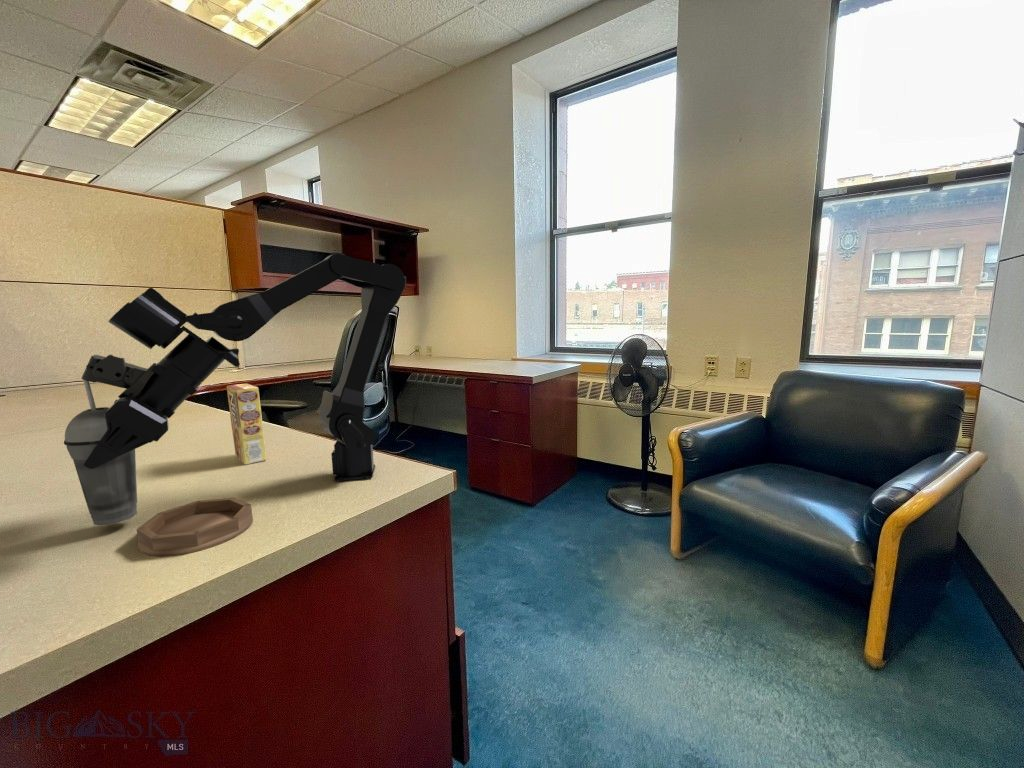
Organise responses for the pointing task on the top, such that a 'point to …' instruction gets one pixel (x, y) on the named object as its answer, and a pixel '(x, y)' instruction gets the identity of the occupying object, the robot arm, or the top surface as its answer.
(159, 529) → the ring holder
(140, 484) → the top surface
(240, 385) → the candy box
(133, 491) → the beverage cup
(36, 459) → the top surface
